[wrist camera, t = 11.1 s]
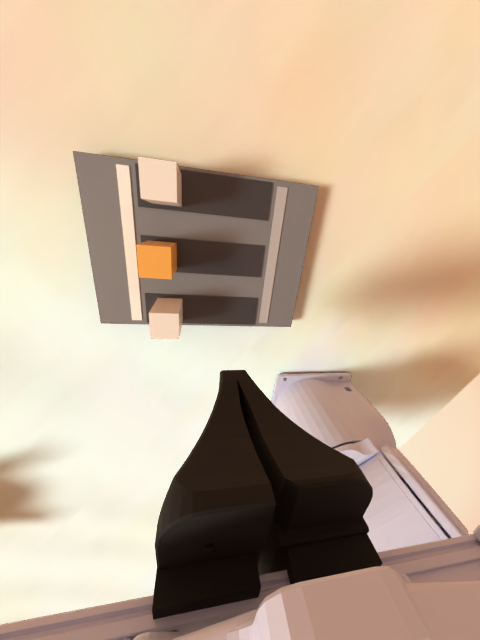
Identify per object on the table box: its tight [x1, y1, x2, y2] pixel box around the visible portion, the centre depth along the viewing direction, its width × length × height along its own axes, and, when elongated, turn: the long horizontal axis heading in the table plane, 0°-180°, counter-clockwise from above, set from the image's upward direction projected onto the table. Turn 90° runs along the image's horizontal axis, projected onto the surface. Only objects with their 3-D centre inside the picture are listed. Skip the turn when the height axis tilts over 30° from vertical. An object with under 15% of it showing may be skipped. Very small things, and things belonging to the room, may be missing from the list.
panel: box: [73, 151, 319, 339], centre depth 17 cm, size 17×12×5 cm
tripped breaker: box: [136, 241, 177, 279], centre depth 15 cm, size 2×2×4 cm
